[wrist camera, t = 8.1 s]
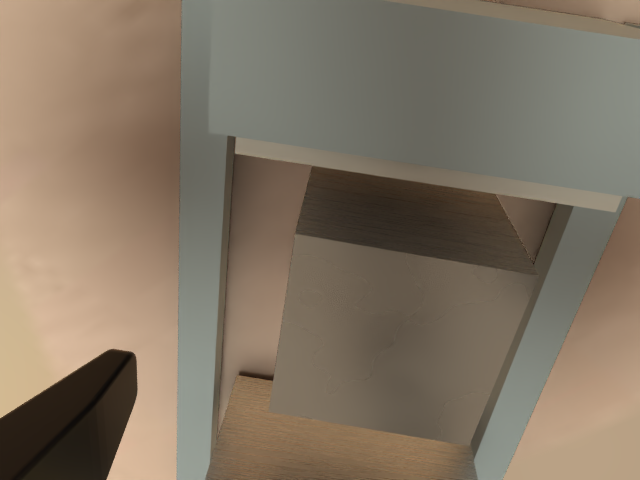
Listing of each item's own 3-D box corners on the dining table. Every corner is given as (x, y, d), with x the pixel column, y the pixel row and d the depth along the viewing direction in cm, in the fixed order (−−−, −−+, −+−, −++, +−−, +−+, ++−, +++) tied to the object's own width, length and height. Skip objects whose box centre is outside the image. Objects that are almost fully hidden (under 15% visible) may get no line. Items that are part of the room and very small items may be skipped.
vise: (469, 519, 21) (497, 666, 17) (184, 474, 21) (137, 610, 17) (675, 30, 13) (843, 70, 8) (195, -44, 13) (103, -43, 8)
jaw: (448, 450, 19) (472, 589, 15) (233, 417, 19) (196, 546, 15) (463, 410, 18) (492, 546, 14) (237, 375, 18) (198, 500, 14)
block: (481, 169, 15) (539, 275, 10) (439, 303, 17) (469, 446, 12) (318, 141, 15) (295, 233, 10) (296, 279, 17) (268, 412, 12)
